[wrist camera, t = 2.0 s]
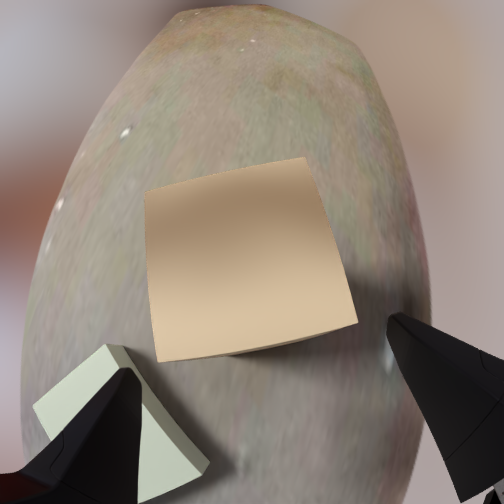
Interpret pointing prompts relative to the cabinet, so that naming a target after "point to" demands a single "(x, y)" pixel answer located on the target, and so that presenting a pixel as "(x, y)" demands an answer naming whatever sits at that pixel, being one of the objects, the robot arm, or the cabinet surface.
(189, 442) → the base plate
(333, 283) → the pine block
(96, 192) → the cabinet surface
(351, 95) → the cabinet surface
